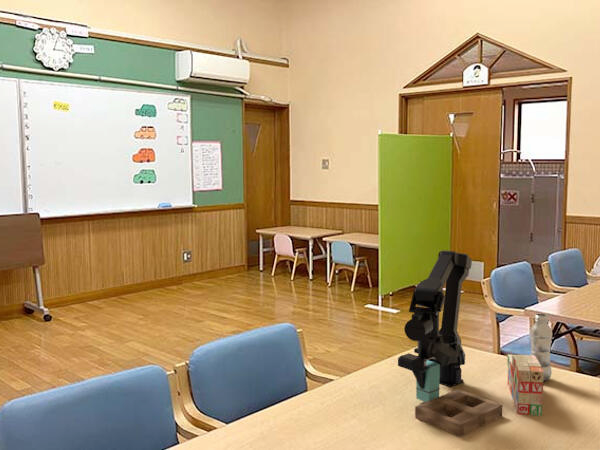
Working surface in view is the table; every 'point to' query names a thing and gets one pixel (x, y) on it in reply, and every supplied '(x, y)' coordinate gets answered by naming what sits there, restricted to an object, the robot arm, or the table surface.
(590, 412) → the table surface
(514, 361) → the stack of blocks
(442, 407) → the walnut board
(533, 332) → the plastic bottle
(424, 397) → the teal peg
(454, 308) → the robot arm
